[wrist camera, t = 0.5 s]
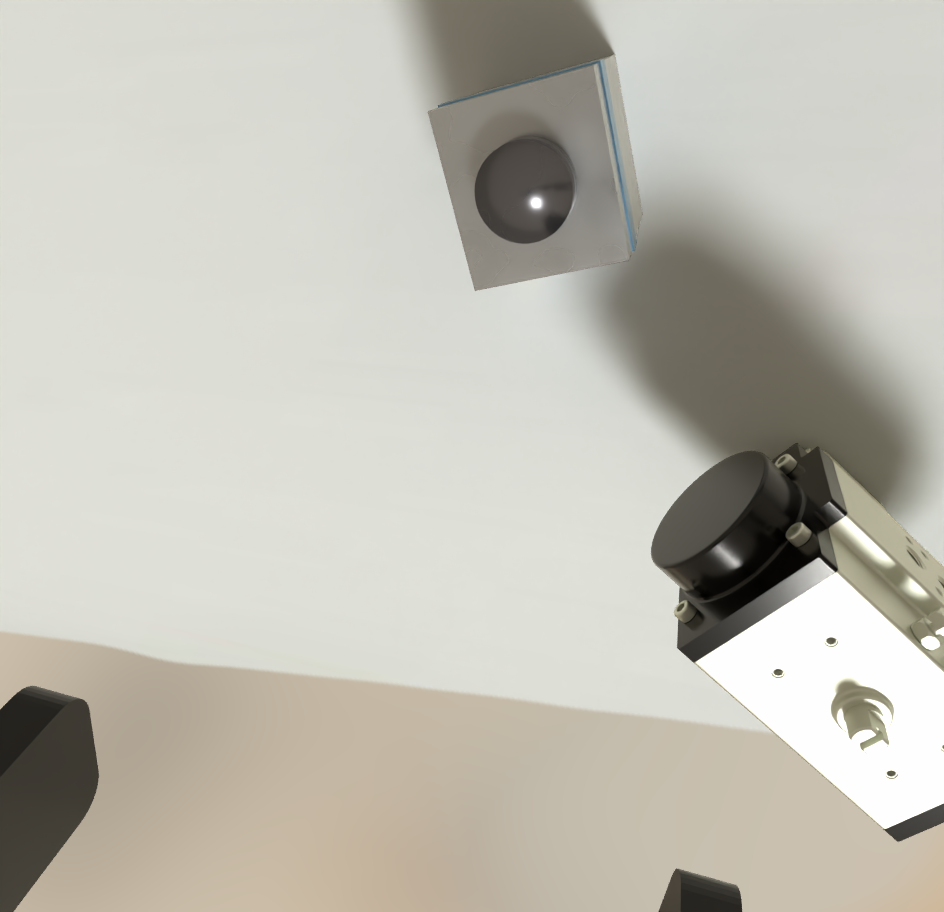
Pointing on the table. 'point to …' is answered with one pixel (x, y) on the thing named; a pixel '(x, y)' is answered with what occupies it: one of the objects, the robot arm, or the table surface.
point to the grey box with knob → (541, 174)
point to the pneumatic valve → (817, 623)
